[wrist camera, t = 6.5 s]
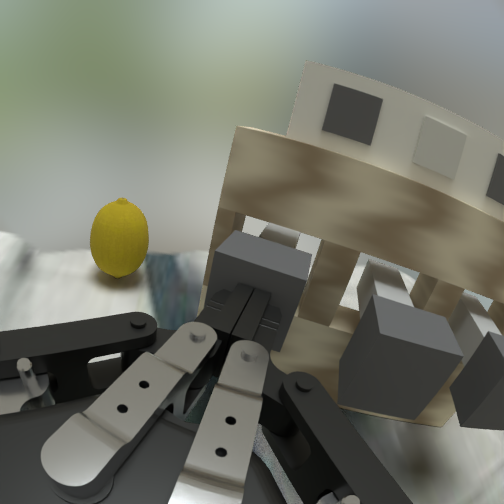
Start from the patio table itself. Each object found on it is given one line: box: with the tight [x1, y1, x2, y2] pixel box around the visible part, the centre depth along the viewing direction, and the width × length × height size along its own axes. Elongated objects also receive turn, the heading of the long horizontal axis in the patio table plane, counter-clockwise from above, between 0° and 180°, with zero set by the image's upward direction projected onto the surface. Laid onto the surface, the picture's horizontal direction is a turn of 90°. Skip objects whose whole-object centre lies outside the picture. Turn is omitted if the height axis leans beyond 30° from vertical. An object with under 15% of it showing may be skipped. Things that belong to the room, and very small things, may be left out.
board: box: [197, 126, 504, 427], centre depth 20 cm, size 21×6×16 cm, turn 75°
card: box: [286, 60, 504, 222], centre depth 14 cm, size 16×1×4 cm, turn 75°
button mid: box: [337, 259, 464, 420], centre depth 15 cm, size 4×10×4 cm, turn 165°
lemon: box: [90, 198, 149, 278], centre depth 27 cm, size 6×6×8 cm
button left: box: [203, 222, 312, 352], centre depth 18 cm, size 4×10×4 cm, turn 165°
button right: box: [447, 292, 504, 430], centre depth 14 cm, size 4×10×4 cm, turn 165°
